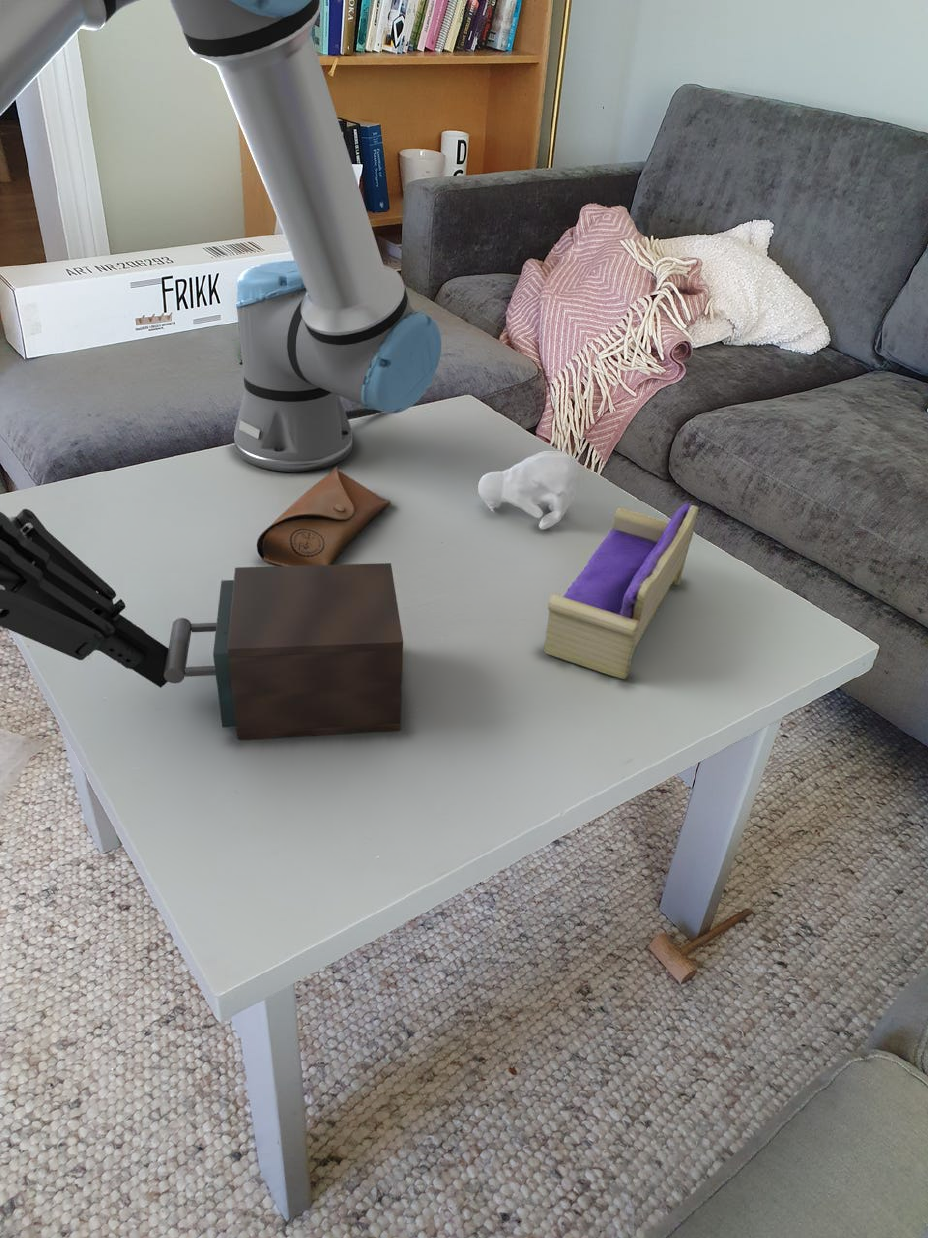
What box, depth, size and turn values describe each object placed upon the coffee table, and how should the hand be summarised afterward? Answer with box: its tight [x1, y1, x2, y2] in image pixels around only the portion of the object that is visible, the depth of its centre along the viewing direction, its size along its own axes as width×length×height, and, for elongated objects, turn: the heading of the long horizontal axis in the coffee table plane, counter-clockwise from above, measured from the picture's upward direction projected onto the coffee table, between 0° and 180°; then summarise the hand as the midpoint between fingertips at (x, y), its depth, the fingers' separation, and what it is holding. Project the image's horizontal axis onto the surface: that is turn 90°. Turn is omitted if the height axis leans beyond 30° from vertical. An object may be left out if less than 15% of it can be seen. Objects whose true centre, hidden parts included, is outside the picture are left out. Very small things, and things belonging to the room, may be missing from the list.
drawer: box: [164, 579, 236, 729], centre depth 78 cm, size 17×10×8 cm, turn 99°
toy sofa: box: [544, 503, 699, 680], centre depth 91 cm, size 21×9×10 cm, turn 154°
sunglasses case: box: [256, 466, 391, 566], centre depth 103 cm, size 18×7×7 cm
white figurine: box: [477, 450, 580, 531], centre depth 108 cm, size 6×8×12 cm
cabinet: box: [228, 562, 404, 740], centre depth 79 cm, size 14×12×10 cm
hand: (172, 673), depth 78 cm, fingers closed
